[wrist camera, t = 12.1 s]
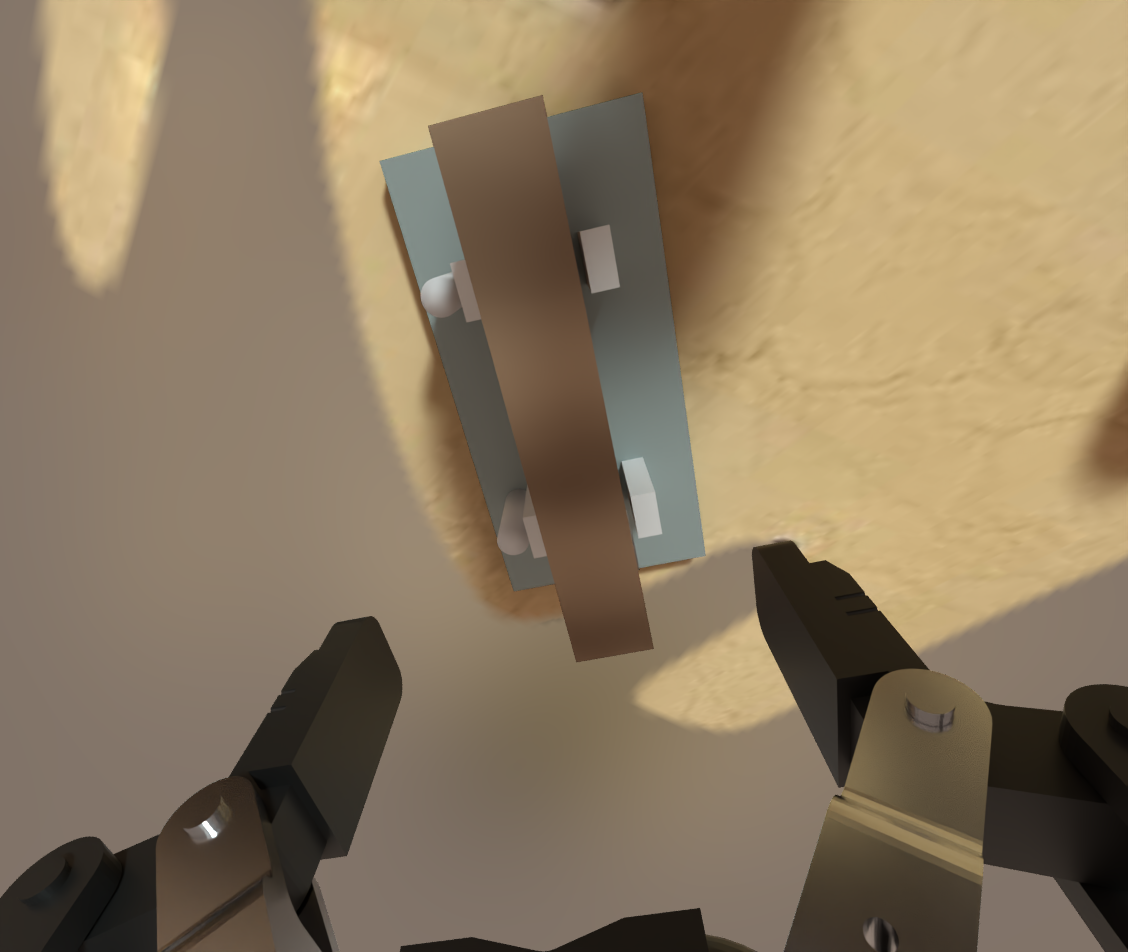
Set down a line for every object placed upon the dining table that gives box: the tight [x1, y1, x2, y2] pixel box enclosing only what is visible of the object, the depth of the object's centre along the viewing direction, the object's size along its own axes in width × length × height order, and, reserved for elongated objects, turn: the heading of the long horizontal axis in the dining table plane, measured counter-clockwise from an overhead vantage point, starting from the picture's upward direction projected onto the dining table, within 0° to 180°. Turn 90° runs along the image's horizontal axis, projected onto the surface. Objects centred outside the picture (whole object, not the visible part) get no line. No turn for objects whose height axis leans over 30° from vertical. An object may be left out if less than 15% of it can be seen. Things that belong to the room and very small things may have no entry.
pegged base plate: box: [380, 92, 706, 591], centre depth 28 cm, size 24×12×6 cm, turn 13°
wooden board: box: [428, 95, 654, 662], centre depth 23 cm, size 18×3×12 cm, turn 13°
